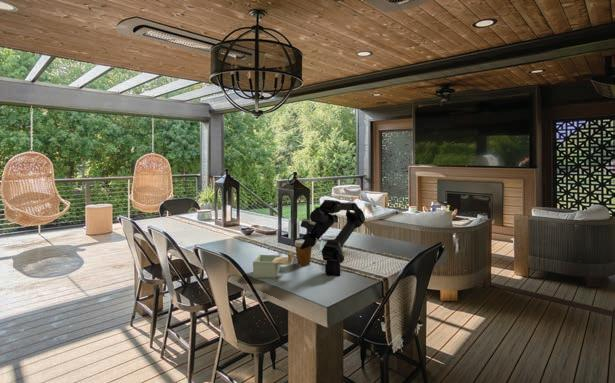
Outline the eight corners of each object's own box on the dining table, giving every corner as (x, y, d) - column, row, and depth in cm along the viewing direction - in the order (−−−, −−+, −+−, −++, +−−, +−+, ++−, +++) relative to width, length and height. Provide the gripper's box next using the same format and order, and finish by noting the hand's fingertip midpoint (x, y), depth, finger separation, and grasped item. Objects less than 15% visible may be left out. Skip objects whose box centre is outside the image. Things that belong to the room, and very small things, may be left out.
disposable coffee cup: (316, 263, 192) (316, 240, 191) (303, 268, 185) (303, 244, 184) (303, 260, 199) (303, 238, 197) (290, 264, 192) (290, 241, 190)
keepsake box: (279, 270, 181) (279, 255, 180) (274, 278, 169) (274, 262, 169) (259, 269, 182) (259, 254, 182) (253, 277, 171) (253, 261, 170)
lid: (293, 259, 179) (293, 250, 178) (290, 264, 169) (290, 255, 169) (275, 258, 180) (275, 249, 179) (271, 264, 170) (270, 255, 170)
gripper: (314, 209, 180) (293, 232, 183) (306, 216, 162) (282, 241, 165) (331, 225, 179) (310, 248, 182) (324, 234, 161) (301, 259, 164)
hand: (300, 248), depth 174 cm, fingers closed
